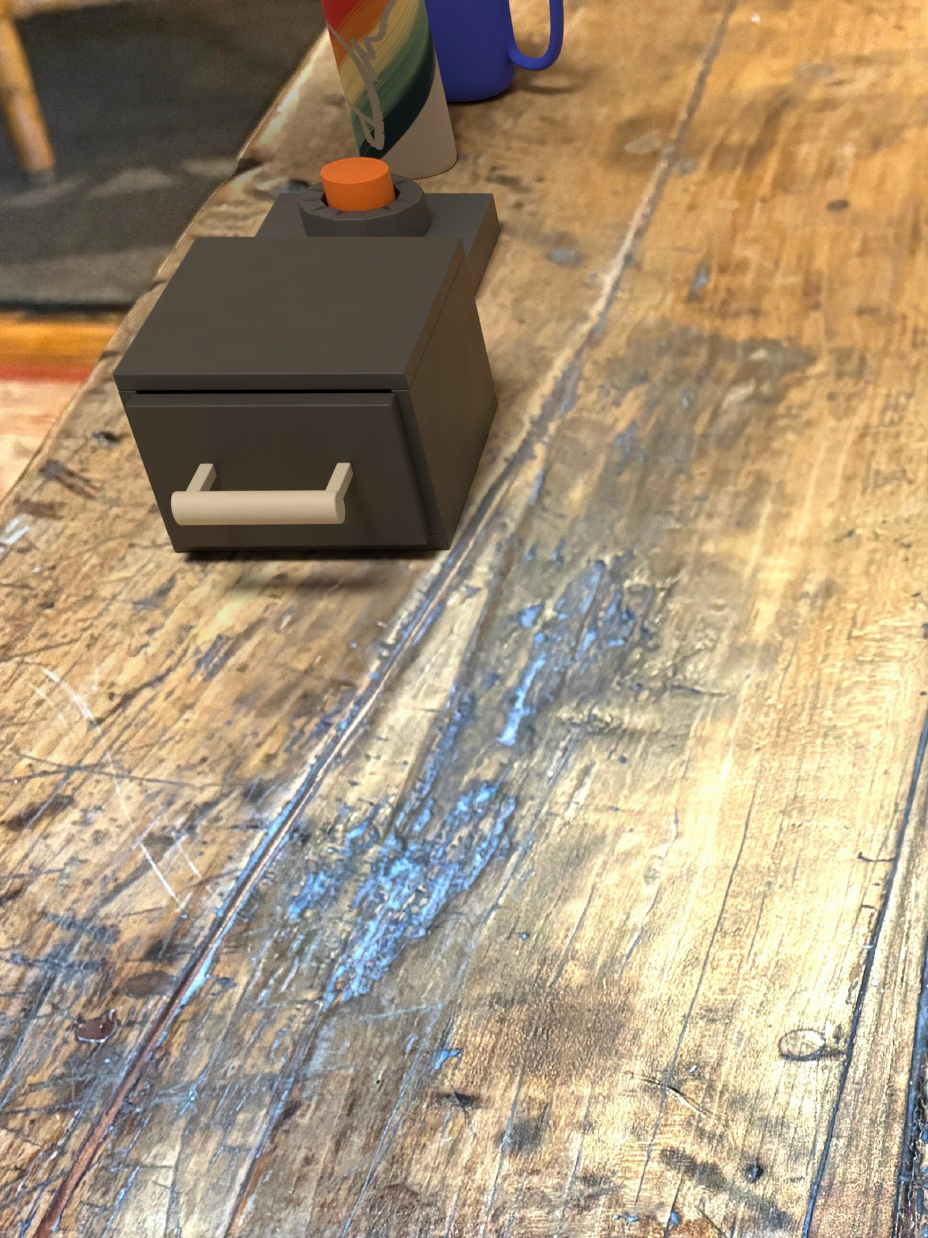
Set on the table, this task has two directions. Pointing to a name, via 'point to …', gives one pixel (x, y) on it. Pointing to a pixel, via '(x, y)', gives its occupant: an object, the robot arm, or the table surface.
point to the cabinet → (332, 344)
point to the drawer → (280, 467)
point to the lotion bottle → (392, 84)
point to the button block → (394, 219)
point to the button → (357, 184)
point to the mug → (484, 46)
